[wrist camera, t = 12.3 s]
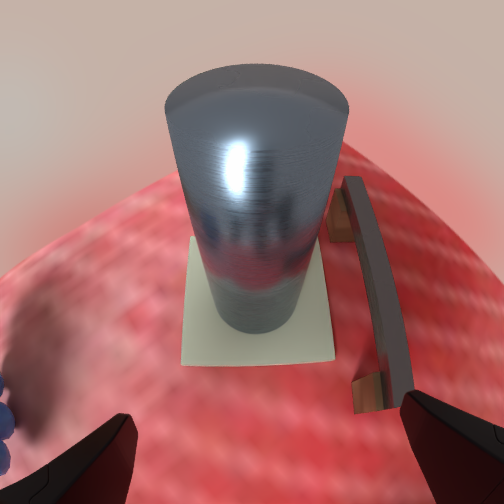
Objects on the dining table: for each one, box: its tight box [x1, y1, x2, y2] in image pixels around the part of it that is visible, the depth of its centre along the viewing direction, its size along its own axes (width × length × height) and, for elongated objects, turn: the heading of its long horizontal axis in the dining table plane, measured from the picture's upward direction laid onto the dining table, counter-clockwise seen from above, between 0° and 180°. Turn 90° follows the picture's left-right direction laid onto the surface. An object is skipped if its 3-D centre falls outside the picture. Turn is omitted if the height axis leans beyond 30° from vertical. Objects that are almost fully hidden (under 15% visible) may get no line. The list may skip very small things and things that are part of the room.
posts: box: [326, 189, 384, 414], centre depth 17 cm, size 14×2×4 cm, turn 1°
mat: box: [181, 236, 335, 366], centre depth 19 cm, size 9×9×1 cm
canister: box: [165, 64, 349, 334], centre depth 13 cm, size 5×5×13 cm
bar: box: [341, 176, 415, 410], centre depth 15 cm, size 14×1×1 cm, turn 2°
